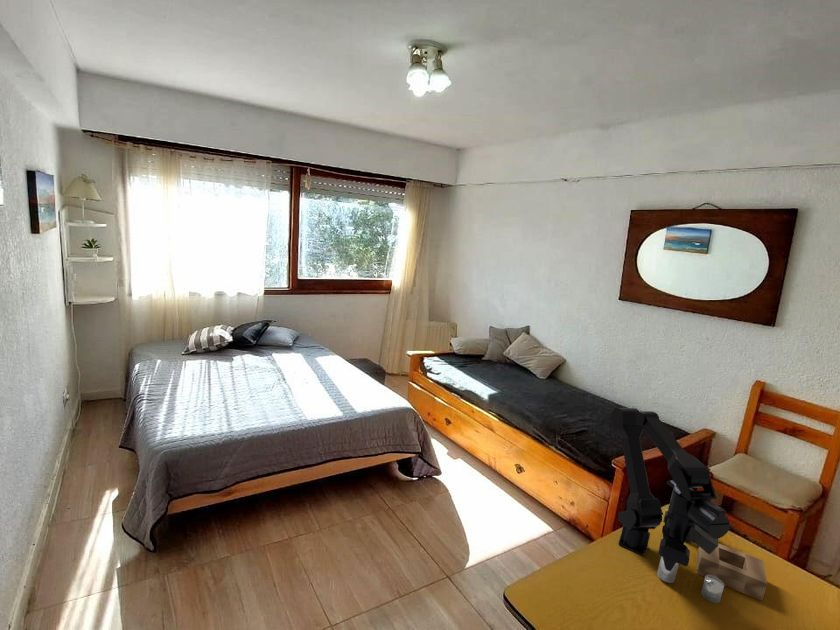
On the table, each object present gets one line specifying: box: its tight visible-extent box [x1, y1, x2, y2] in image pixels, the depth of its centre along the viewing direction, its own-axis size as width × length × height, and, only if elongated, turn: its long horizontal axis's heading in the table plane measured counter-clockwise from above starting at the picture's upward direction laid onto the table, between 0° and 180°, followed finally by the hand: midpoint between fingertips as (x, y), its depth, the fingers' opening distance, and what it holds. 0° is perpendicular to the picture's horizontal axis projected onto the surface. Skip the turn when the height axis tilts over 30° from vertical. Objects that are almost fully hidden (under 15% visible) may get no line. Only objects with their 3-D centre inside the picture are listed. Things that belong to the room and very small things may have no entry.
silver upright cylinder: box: [656, 556, 680, 584], centre depth 114 cm, size 4×4×9 cm
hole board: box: [696, 542, 768, 602], centre depth 119 cm, size 14×10×5 cm
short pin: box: [700, 575, 725, 604], centre depth 111 cm, size 4×4×4 cm
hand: (668, 565), depth 114 cm, fingers closed on silver upright cylinder, 4 cm apart
